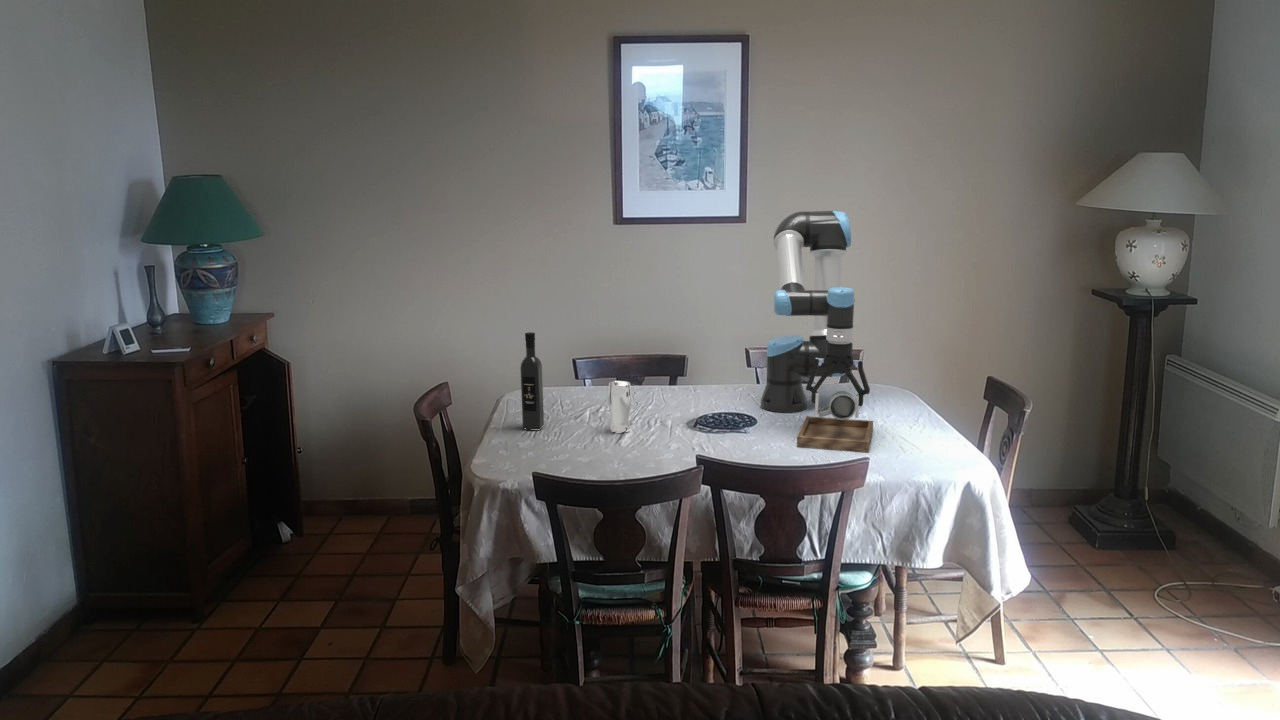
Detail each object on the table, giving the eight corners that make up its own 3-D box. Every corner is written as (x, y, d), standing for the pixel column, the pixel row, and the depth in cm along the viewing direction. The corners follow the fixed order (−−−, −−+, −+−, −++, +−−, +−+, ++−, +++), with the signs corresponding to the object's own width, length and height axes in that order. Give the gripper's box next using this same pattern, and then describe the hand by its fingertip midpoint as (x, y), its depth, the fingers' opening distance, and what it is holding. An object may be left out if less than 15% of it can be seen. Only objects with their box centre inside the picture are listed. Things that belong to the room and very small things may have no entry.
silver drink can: (635, 429, 288) (634, 381, 285) (625, 435, 282) (624, 387, 278) (615, 426, 291) (614, 379, 287) (605, 432, 285) (604, 384, 281)
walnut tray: (796, 446, 269) (797, 436, 268) (806, 425, 289) (806, 416, 289) (868, 452, 263) (868, 442, 262) (872, 430, 284) (873, 420, 283)
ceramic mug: (853, 413, 278) (853, 387, 277) (856, 420, 270) (856, 394, 269) (817, 413, 280) (817, 387, 278) (818, 420, 272) (818, 394, 270)
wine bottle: (539, 431, 287) (536, 335, 280) (521, 430, 288) (517, 334, 281) (545, 425, 292) (541, 331, 286) (527, 425, 293) (523, 331, 287)
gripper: (796, 342, 270) (795, 415, 274) (880, 345, 263) (876, 421, 268) (800, 337, 277) (798, 409, 281) (881, 341, 270) (878, 414, 275)
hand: (836, 415), depth 275 cm, fingers closed on ceramic mug, 11 cm apart
